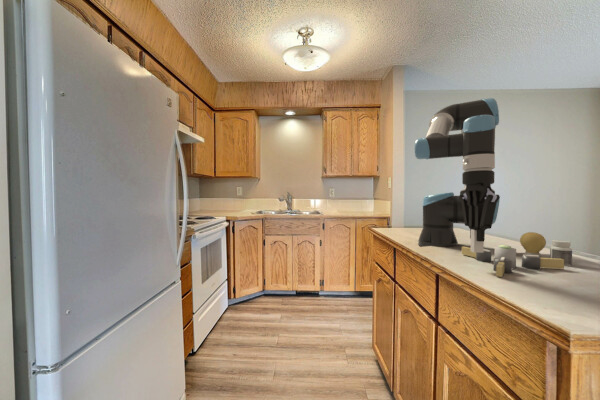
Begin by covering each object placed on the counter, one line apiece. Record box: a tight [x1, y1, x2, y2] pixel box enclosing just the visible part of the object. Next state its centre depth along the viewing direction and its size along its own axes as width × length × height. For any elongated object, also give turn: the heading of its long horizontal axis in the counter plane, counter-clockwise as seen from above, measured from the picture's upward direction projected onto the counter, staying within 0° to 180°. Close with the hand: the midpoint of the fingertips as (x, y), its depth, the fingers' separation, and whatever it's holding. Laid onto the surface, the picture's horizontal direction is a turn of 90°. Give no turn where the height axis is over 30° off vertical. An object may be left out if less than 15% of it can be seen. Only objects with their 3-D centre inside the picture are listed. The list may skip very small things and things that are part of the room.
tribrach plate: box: [493, 244, 517, 269], centre depth 74 cm, size 18×18×7 cm
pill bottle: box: [549, 239, 573, 267], centre depth 76 cm, size 5×5×8 cm
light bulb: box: [519, 231, 547, 258], centre depth 83 cm, size 6×6×10 cm
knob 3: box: [521, 254, 565, 271], centre depth 72 cm, size 10×4×4 cm, turn 75°
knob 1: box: [461, 246, 493, 263], centre depth 83 cm, size 10×4×4 cm, turn 15°
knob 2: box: [493, 257, 513, 278], centre depth 68 cm, size 10×4×4 cm, turn 135°
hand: (476, 251), depth 72 cm, fingers closed
